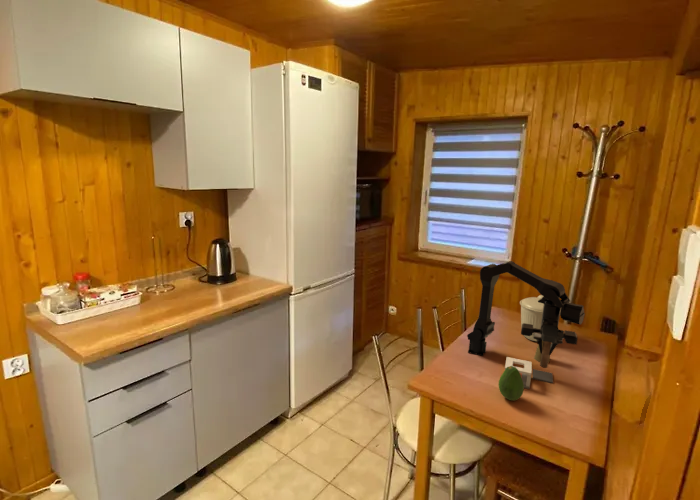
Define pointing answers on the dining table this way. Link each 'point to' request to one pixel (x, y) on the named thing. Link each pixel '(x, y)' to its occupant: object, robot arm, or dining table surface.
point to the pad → (542, 376)
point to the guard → (521, 369)
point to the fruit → (511, 384)
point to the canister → (532, 313)
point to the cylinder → (545, 354)
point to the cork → (539, 354)
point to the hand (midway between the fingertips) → (545, 354)
